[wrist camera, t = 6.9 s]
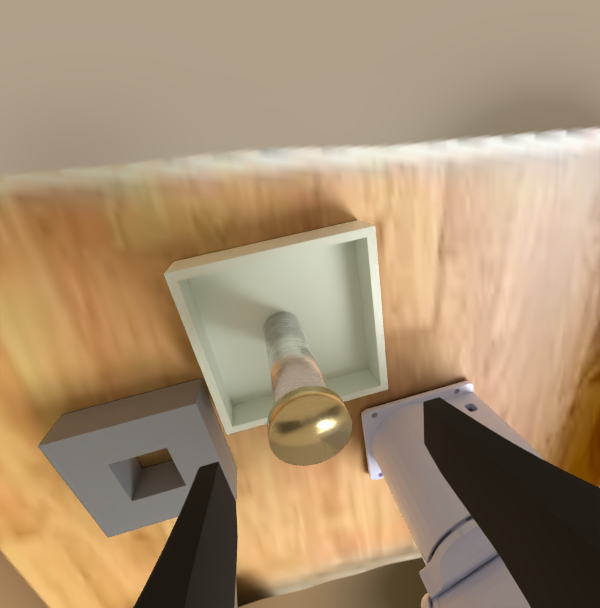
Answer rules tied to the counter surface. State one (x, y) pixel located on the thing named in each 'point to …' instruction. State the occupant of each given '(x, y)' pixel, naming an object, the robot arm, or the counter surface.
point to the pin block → (138, 454)
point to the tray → (289, 298)
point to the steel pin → (301, 398)
